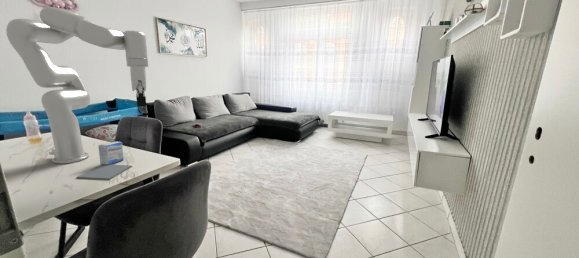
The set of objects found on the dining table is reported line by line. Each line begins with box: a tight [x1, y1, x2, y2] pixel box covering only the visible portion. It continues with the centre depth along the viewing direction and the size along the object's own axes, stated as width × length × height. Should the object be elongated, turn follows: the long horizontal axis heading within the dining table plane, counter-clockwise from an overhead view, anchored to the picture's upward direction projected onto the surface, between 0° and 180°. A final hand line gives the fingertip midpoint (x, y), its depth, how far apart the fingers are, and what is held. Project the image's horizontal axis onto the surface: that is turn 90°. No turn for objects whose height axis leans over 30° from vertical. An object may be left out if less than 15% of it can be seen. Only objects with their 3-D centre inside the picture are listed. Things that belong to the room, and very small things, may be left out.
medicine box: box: [98, 141, 124, 165], centre depth 109 cm, size 8×4×9 cm, turn 168°
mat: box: [76, 164, 133, 181], centre depth 100 cm, size 13×13×1 cm
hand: (141, 104), depth 105 cm, fingers open, 9 cm apart
